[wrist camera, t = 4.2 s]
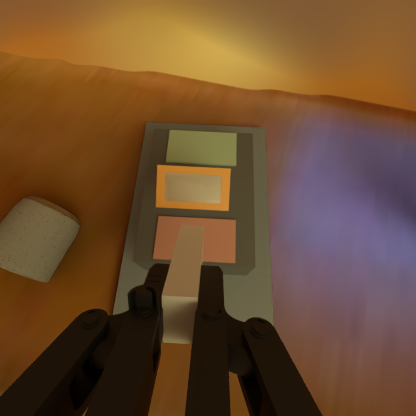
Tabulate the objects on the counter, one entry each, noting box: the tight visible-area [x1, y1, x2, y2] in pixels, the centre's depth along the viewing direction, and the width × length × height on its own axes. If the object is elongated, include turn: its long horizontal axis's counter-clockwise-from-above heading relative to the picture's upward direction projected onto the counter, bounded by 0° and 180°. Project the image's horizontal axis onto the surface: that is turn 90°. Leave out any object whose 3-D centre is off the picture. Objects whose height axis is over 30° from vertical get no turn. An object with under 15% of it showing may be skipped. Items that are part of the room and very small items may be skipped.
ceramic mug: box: [0, 196, 80, 283], centre depth 30 cm, size 11×8×8 cm
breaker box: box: [113, 122, 273, 325], centre depth 31 cm, size 28×18×8 cm, turn 177°
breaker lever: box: [156, 165, 231, 211], centre depth 23 cm, size 3×5×9 cm, turn 87°
